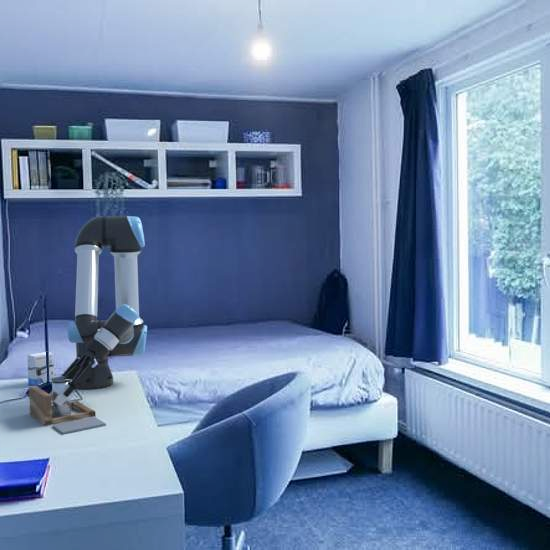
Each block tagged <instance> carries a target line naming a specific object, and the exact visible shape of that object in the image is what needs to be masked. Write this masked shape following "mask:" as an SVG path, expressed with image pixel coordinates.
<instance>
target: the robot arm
mask: <svg viewBox="0 0 550 550" xmlns="http://www.w3.org/2000/svg"><path fill="white" fill-rule="evenodd" d="M143 229H144V228H143V224H142V221H141V218H139V216H135V215H134V216H130V215H119V216H118V215H117V216H115V215H114V216H111V215H110V216H109V215H108V216H102V215H100V216H99V215H98V216H95V217H93V218H91V219H89V220H88V221H87V222H85V224H84V225H83V226H82V227H81V229H80V230H79V232H78V234H77V235H76V239H75V242H74V243H75V244H74V253H76V258H77V259H76V284H75V308H74V309H75V310H74V320H73V321H69V322H68V325H67V326H68V327H67V337H68V338H67V339H68V341H69V342H70V343H73V344H75V347H76V348H75V350H76V352H75V353H76V358H75V360H73V362H71V364H70V365H69V366H68V367H67V368H66V369H65V371H64V372H63V373H62V374H61V375H60V376H69V377H71V382H68V383H67V385H66V387H65V388H64V389H63V390H62V391H61V393H60V394H59V395H58V396H57V397H56V398H55V400H54V402H55V403H56V404H58V405H59V406H61V405H62V404H63V403H64V402H65V400H66V399H67V398H68V397H69V396H70V394H71V395H72V393H73V392H74V391H75V390H93V389H94V388H95V389H101V388H100V387H102V388H107V387H109V385H110V386H111V384H112V385H113V384H114V375H113V373H112V369H111V367H110V365H109V358H113V357H114V358H115V357H117V358H118V357H119V358H120V357H137V356H142V355H144V354H145V349H146V343H147V333H148V326H147V325H145V324H144V320H143V319H142V318H141V317H140V304H139V301H140V300H139V299H140V297H139V275H138V274H139V269H138V268H139V267H138V255H140V253H141V252H142V248H144V247H145V242H146V241H145V234H144V230H143ZM103 248H109V253H110V254H111V255H112V256H113V262H114V264H113V265H114V283H115V284H114V288H115V289H114V290H115V291H114V292H115V310H114V312H112V314H111V315H110V316H109V317H108V319H107V320H98V307H99V306H98V303H99V302H98V301H99V299H98V297H99V262H100V261H99V260H100V258H99V257H100V256H99V255H101V254H102V252H103V251H102V249H103ZM69 385H70V386H69ZM106 386H107V387H106ZM49 394H50V395H51V400H52V402H53V395H52V391H50V393H49Z"/></svg>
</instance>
